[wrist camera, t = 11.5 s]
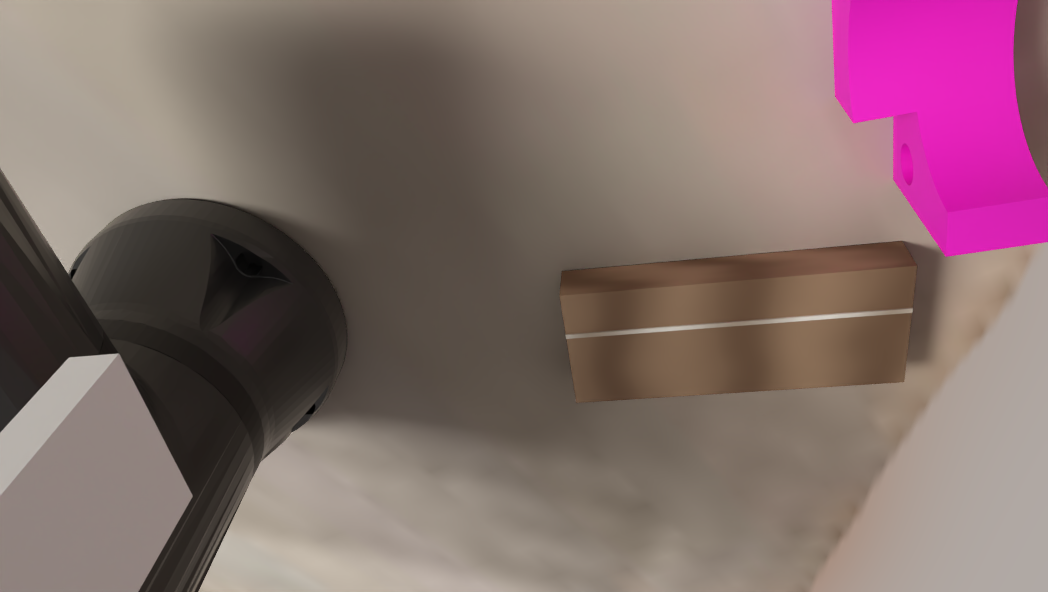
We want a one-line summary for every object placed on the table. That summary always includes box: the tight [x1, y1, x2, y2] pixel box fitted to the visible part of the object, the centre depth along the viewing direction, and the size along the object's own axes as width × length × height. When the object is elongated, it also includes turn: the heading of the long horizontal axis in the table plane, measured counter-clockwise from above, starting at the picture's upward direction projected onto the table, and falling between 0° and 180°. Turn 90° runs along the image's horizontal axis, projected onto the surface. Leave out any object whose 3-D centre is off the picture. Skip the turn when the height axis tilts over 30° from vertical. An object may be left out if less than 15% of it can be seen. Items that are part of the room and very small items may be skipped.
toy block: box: [832, 0, 1048, 257], centre depth 32 cm, size 15×6×8 cm, turn 13°
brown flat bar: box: [560, 241, 917, 403], centre depth 43 cm, size 17×7×2 cm, turn 99°
